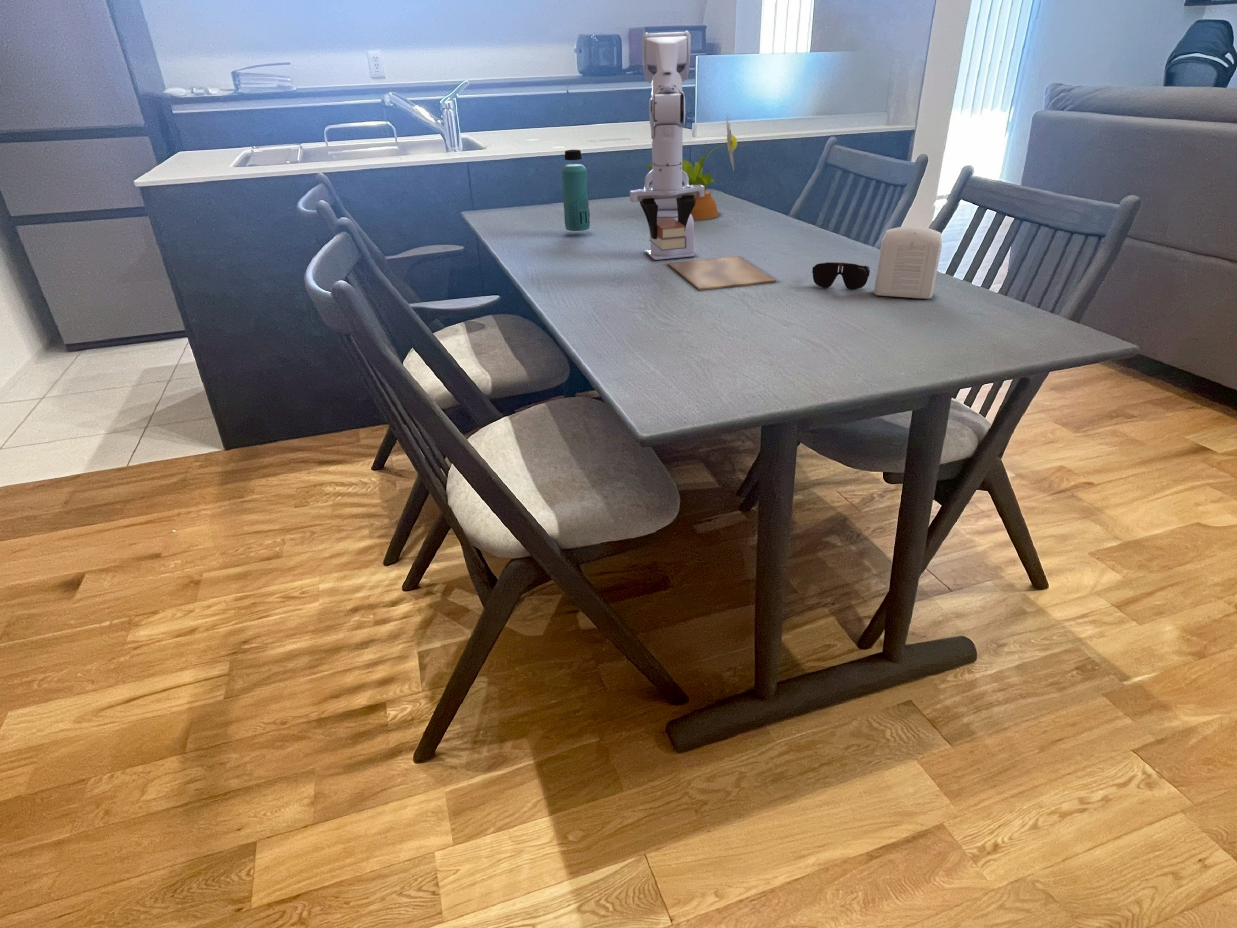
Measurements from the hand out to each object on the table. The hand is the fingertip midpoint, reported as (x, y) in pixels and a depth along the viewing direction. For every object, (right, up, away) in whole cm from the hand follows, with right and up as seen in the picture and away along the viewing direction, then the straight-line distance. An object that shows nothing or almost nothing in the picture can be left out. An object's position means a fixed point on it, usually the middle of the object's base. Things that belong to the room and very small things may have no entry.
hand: (667, 236), depth 147 cm
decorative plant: (+10, +24, +58) cm, 63 cm away
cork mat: (+11, -6, +6) cm, 14 cm away
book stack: (0, -1, +1) cm, 2 cm away
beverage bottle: (-20, +13, +41) cm, 48 cm away
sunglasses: (+34, -10, -2) cm, 35 cm away
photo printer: (+43, -14, -11) cm, 46 cm away
